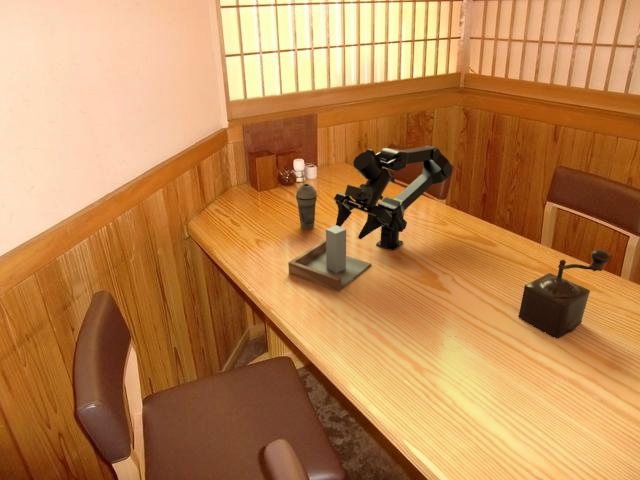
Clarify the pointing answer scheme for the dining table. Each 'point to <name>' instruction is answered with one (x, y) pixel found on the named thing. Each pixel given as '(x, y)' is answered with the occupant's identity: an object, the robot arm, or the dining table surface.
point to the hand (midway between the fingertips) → (347, 233)
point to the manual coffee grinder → (558, 299)
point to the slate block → (336, 248)
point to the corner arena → (315, 270)
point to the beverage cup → (306, 205)
